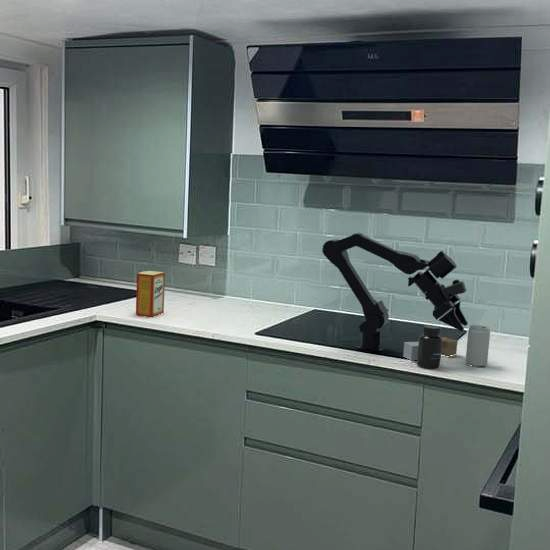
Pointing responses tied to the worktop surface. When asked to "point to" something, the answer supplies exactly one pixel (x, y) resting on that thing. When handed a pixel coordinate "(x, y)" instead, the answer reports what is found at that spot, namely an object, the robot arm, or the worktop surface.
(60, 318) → the worktop surface
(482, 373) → the worktop surface
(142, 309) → the baking soda box
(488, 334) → the beverage can
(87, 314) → the worktop surface
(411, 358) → the grey plastic block
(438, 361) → the supplement bottle
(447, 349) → the walnut block
